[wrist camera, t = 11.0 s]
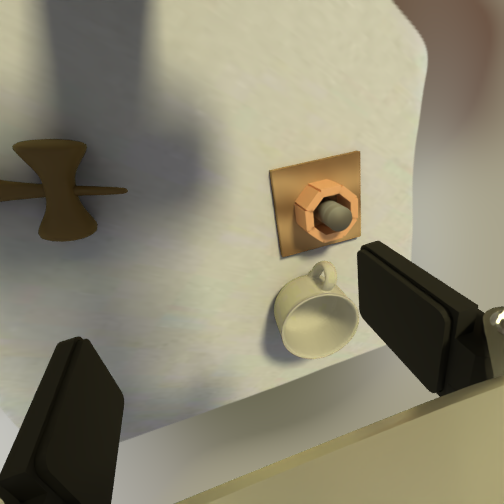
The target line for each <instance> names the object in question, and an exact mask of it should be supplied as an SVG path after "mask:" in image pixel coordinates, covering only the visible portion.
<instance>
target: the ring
mask: <svg viewBox="0 0 504 504" xmlns="http://www.w3.org/2000/svg"><path fill="white" fill-rule="evenodd" d="M335 194H336V195H337V203H339V204H340V205H342V206H344V207H346V208H348V209H349V210H350V211H351V213H352V221H351V224H350V225H349V226H348V228H346V229H345V230H343V231H340V232H336V231H334V230H332V229H331V228H329V227H328V226H326V225H325V224H324V223H323V224H319V225H315V226H314V217H313V211H314V210H315V208H316V207H317V206H318V204H319V203H320V202H321V200H322V199H323V197H327V196H331V195H335ZM356 197H357V196H356V195H355V194H354V193H352V192H351V191H350V190H348V189H347V188H346V187H345V186H343V185H341V184H339V183H337V182H334V181H332V180H330V179H325V180H321V181H317V182H312V183H309V186H308V185H306V186H305V188H304V189H303V191H302V192H301V194H300V195H299V196H298V198H297V199H296V201H295V202H296V203H295V204H294V206H295V215H296V222H297V224H298V225H299V226H300V227H302V228H303V229H304V230H305V231H306V232H307V233H309V234H310V235H312V236H313V237H315V238H316V239H318V240H319V241H321V242H324V243H326V242H329V241H333V240H337V239H340V238H343V236H346V234H347V233H348V232H349V230H350V229H351V228H352V227H353V225H354V224H355V223H356V221H357V219H356V218H358V198H356Z"/></svg>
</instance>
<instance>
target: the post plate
mask: <svg viewBox="0 0 504 504" xmlns="http://www.w3.org/2000/svg"><path fill="white" fill-rule="evenodd" d="M269 171H270V178H271V185H272V193H273V200H274V207H275V214H276V222H277V229H278V236H279V243H280V251H281V255H282V257H286V256H289V255H293V254H297V253H300V252H304V251H308V250H311V249H315V248H319V247H323V246H326V245H330V244H334V243H337V242H341V241H345V240H348V239H352V238H356V237H359V236H361V200H360V151H353V152H349V153H345V154H340V155H336V156H331V157H327V158H322V159H318V160H314V161H309V162H305V163H300V164H296V165H291V166H287V167H282V168H278V169H274V170H269ZM325 179H330V180H332V181H334V182H337V183H339V184H341V185H343V186H345V187H346V188H347V189H348V190H350V191H351V192H352V193H354V194H355V195H356V196H357V197H356V198H358V218H356V219H357V221H356V223H355V224H354V225H353V227H352V228H351V229H350V230H349V232H348V233H347V234H346V236H343V238H340V239H337V240H333V241H329V242H326V243H324V242H321V241H319V240H318V239H316V238H315V237H313V236H312V235H310V234H309V233H307V232H306V231H305V230H304V229H303V228H302V227H300V226H299V225H298V224H297V222H296V215H295V206H294V204H295V203H296V202H295V201H296V199H297V198H298V196H299V195H300V194H301V192H302V191H303V189H304V188H305V186H306V185H308V186H309V183H312V182H317V181H321V180H325ZM313 217H314V226H315V225H319V224H323V223H324V224H325V225H326V226H328V227H329V228H331V229H332V230H334V231H336V232H340V231H343V230H345V229H346V228H348V226H349V225H350V224H351V221H352V213H351V211H350V210H349V209H348V208H346V207H344V206H342V205H340V204H339V203H337V195H336V194H335V195H331V196H327V197H323V199H322V200H321V202H320V203H319V204H318V206H317V207H316V208H315V210H314V211H313Z"/></svg>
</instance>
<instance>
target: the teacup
mask: <svg viewBox="0 0 504 504" xmlns="http://www.w3.org/2000/svg"><path fill="white" fill-rule="evenodd" d="M323 270H324V274H325V277H322V276H320V275H321V273H322V271H323ZM336 281H337V273H336V270H335V267H334V266H333V264H332V263H331V262H328V261H321V262H318V263H317V264H316V265H315V266H314V267H313V269H312V271H310V272H309V273H308V275H305V276H301V277H298V278H296V279H294V280H292V281H290V282H289V283H287V284H286V285H285V286H284V287H283V288H282V289H281V291H280V292H279V294H278V296H277V298H276V301H275V305H274V315H275V319H276V323H277V326H278V328H279V331H280V334H281V337H282V341H283V344H284V346H285V347H286V348H287V350H288V351H289V352H291V353H292V354H294V355H296V356H298V357H301V358H306V359H317V358H323V357H326V356H329V355H331V354H333V353H335V352H337V351H339V350H340V349H341V348H343V347H344V346H345V345H346V344H347V343H348V342H349V341H350V340H351V339H352V337H353V336H354V334H355V332H356V330H357V328H358V324H359V313H358V310H357V308H356V306H355V304H354V303H353V302H352V301H351V300H350V299H349V298H347V296H346V295H345V294H344V293H343V292H342V291H341V289H340V288H339V287H338V286H337V285H336Z"/></svg>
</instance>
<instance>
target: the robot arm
mask: <svg viewBox="0 0 504 504" xmlns="http://www.w3.org/2000/svg"><path fill="white" fill-rule="evenodd" d="M357 265H358V289H359V310H360V314H361V316H362V318H363V319H364V320H365V321H366V322H367V324H368V325H369V326H370V327H371V328H372V329H373V330H374V331H375V332H376V333H377V335H378V336H379V337H380V338H381V339H382V340H383V341H384V342H385V343H386V344H387V345H388V347H389V348H390V349H391V350H392V351H393V352H394V353H395V354H396V355H397V356H398V358H399V359H400V360H401V361H402V362H403V363H404V364H405V365H406V366H407V367H408V368H409V370H410V371H411V372H412V373H413V374H414V375H415V376H416V377H417V378H418V379H419V380H420V382H421V383H422V384H423V385H424V386H425V387H426V388H427V389H428V390H429V391H430V392H432V393H437V394H438V395H439V396H440V397H439V398H436V399H434V400H431V401H429V402H426V403H423V404H421V405H418V406H415V407H413V408H411V409H408V410H405V411H403V412H400V413H398V414H395V415H393V416H390V417H388V418H385V419H383V420H380V421H378V422H375V423H373V424H370V425H368V426H365V427H363V428H360V429H357V430H355V431H352V432H350V433H347V434H345V435H342V436H340V437H337V438H335V439H332V440H330V441H328V442H325V443H323V444H320V445H318V446H316V447H313V448H310V449H308V450H305V451H303V452H300V453H298V454H295V455H293V456H291V457H288V458H285V459H283V460H280V461H278V462H276V463H273V464H270V465H268V466H266V467H263V468H261V469H258V470H256V471H253V472H251V473H248V474H246V475H243V476H241V477H238V478H236V479H233V480H231V481H228V482H226V483H223V484H221V485H219V486H216V487H214V488H211V489H209V490H207V491H204V492H202V493H199V494H197V495H194V496H192V497H190V498H187V499H184V500H182V501H180V502H177V503H175V504H504V307H503V306H501V307H495V308H492V309H490V310H488V311H486V312H485V313H484V312H482V311H481V310H479V309H478V305H477V304H475V303H474V302H472V301H471V300H469V299H468V298H466V297H465V296H463V295H461V294H460V293H458V292H457V291H455V290H454V289H452V288H451V287H449V286H448V285H446V284H445V283H443V282H441V281H440V280H438V279H437V278H435V277H434V276H432V275H431V274H429V273H428V272H426V271H425V270H423V269H422V268H420V267H418V266H417V265H415V264H414V263H412V262H411V261H409V260H408V259H406V258H405V257H403V256H402V255H400V254H398V253H397V252H395V251H394V250H392V249H391V248H389V247H388V246H386V245H385V244H383V243H382V242H380V241H375V242H372V243H369V244H365V245H363V246H361V250H360V251H358V253H357ZM123 409H124V397H123V394H122V392H121V390H120V388H119V387H118V385H117V384H116V382H115V380H114V379H113V377H112V376H111V374H110V372H109V371H108V369H107V368H106V366H105V364H104V363H103V361H102V360H101V358H100V357H99V355H98V353H97V352H96V350H95V349H94V347H93V345H92V344H91V342H90V341H89V340H88V339H82V338H81V337H75V338H71V339H68V340H65V341H62V342H60V343H58V344H57V346H56V348H55V350H54V353H53V355H52V357H51V360H50V362H49V364H48V366H47V369H46V371H45V373H44V375H43V378H42V380H41V382H40V385H39V387H38V389H37V391H36V394H35V396H34V398H33V400H32V403H31V405H30V407H29V410H28V412H27V414H26V416H25V419H24V421H23V423H22V425H21V428H20V430H19V432H18V435H17V437H16V439H15V441H14V444H13V446H12V448H11V451H10V453H9V455H8V457H7V460H6V462H5V464H4V466H3V469H2V471H1V473H0V504H111V500H112V492H113V485H114V477H115V469H116V462H117V454H118V447H119V439H120V432H121V424H122V417H123Z"/></svg>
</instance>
